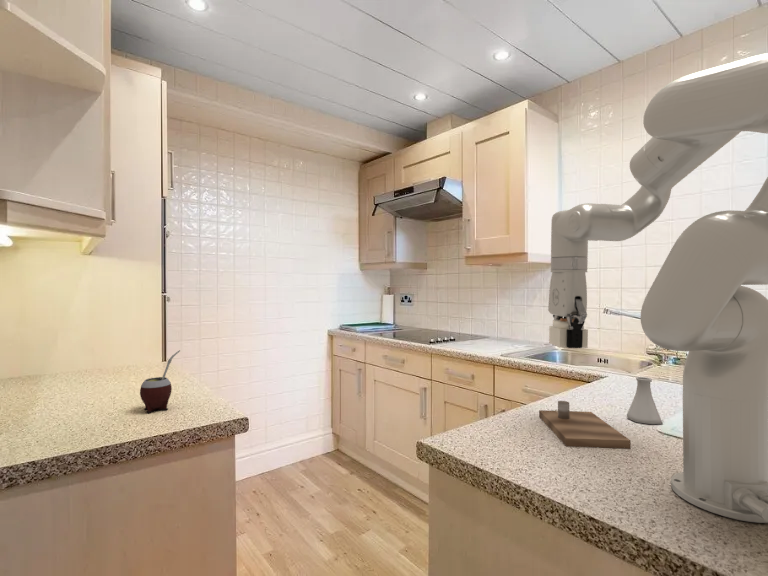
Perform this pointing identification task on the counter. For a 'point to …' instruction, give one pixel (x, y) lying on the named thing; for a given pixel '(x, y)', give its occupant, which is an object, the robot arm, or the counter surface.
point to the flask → (644, 404)
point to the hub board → (582, 428)
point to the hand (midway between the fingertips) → (567, 344)
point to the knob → (563, 333)
